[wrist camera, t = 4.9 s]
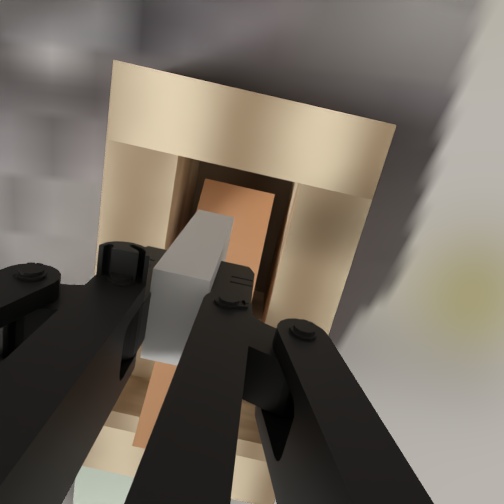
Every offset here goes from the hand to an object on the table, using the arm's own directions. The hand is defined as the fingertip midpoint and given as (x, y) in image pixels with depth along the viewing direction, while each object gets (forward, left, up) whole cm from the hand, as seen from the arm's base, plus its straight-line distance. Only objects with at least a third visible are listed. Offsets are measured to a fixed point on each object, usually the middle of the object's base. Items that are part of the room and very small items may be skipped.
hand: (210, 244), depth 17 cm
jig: (0, -7, -10) cm, 12 cm away
